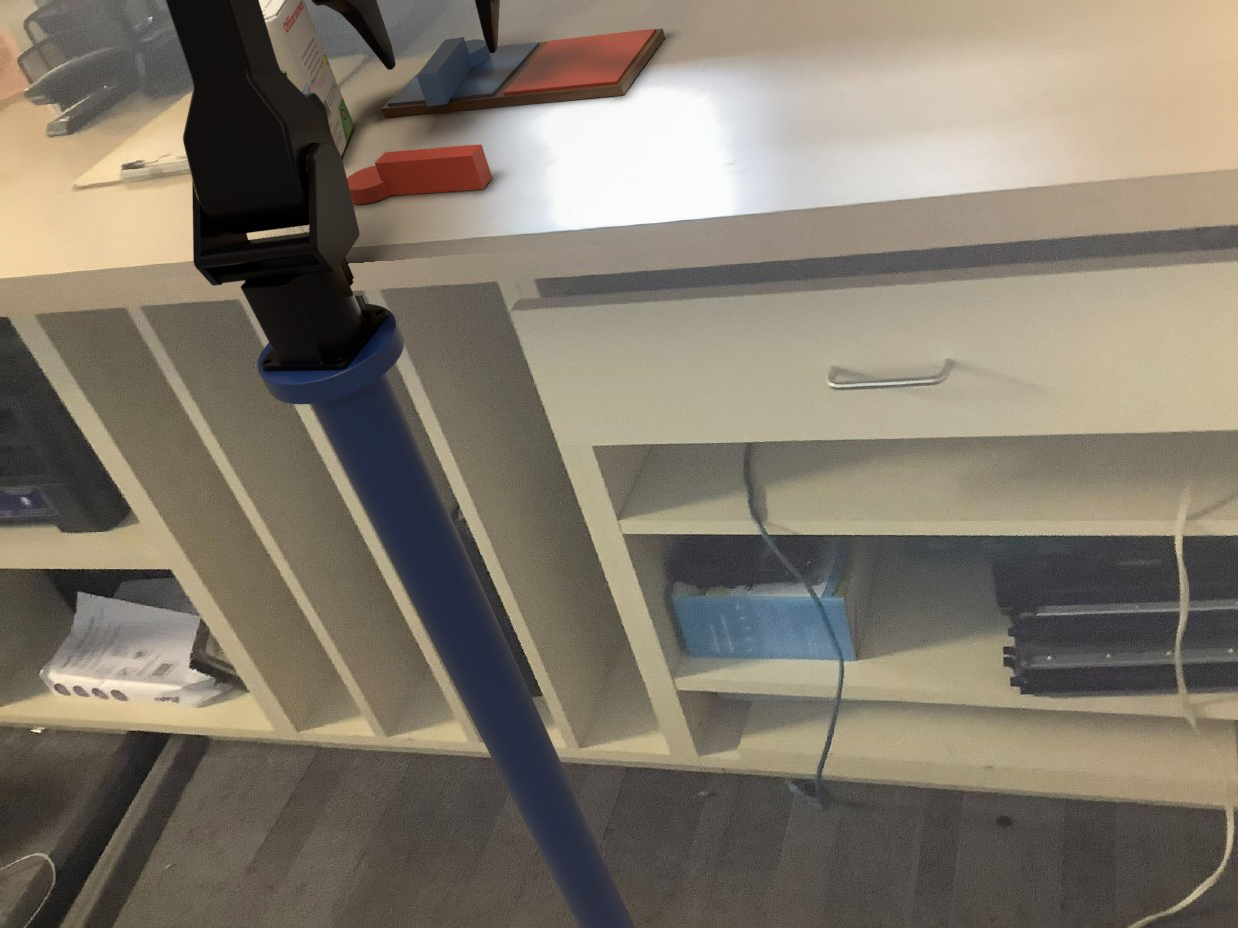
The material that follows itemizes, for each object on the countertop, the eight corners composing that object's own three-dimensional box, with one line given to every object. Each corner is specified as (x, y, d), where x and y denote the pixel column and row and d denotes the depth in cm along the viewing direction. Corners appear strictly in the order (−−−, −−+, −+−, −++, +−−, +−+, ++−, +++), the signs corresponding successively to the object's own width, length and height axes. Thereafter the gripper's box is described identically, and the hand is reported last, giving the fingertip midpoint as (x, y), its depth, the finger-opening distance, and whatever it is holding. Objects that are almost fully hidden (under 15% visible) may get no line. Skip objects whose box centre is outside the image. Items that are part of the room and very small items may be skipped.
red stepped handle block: (498, 170, 84) (487, 136, 82) (477, 196, 81) (465, 162, 79) (364, 180, 87) (351, 148, 86) (340, 205, 85) (325, 173, 83)
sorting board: (623, 95, 90) (620, 82, 89) (383, 117, 97) (379, 106, 96) (665, 37, 98) (662, 25, 98) (441, 61, 105) (437, 51, 105)
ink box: (301, 138, 97) (238, -5, 90) (356, 125, 97) (298, -20, 89) (280, 180, 91) (211, 30, 83) (340, 167, 90) (275, 14, 83)
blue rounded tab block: (460, 102, 93) (449, 70, 92) (415, 108, 94) (403, 77, 93) (495, 49, 102) (486, 20, 100) (453, 56, 103) (444, 27, 101)
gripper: (215, -97, 81) (306, 115, 92) (458, -146, 77) (524, 81, 87) (277, -136, 90) (354, 62, 100) (499, -183, 85) (556, 29, 96)
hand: (442, 59), depth 95 cm, fingers open, 9 cm apart
